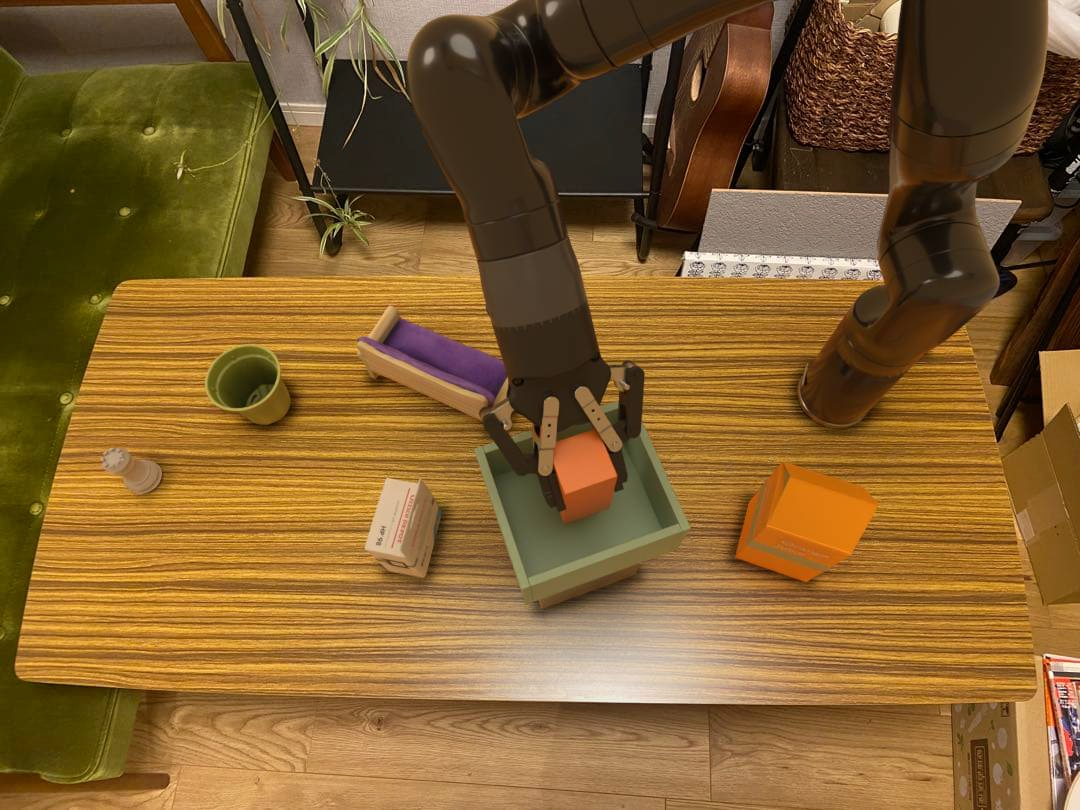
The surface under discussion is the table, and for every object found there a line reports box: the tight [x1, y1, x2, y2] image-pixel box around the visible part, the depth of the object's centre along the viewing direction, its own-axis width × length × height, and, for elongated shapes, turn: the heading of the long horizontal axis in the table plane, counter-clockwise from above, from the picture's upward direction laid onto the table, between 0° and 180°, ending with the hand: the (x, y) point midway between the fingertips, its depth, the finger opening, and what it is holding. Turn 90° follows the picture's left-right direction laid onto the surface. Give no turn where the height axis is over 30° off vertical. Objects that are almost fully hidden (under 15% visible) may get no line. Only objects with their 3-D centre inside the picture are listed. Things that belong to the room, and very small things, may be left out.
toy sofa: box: [356, 305, 508, 421], centre depth 92 cm, size 21×9×10 cm, turn 64°
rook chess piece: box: [100, 447, 163, 495], centre depth 88 cm, size 4×4×8 cm
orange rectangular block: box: [553, 429, 617, 524], centre depth 61 cm, size 4×4×9 cm
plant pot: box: [204, 343, 292, 426], centre depth 92 cm, size 9×9×9 cm
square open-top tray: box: [473, 399, 692, 605], centre depth 67 cm, size 16×14×8 cm
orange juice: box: [734, 461, 880, 583], centre depth 77 cm, size 8×9×20 cm
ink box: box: [364, 477, 443, 578], centre depth 81 cm, size 9×5×15 cm, turn 168°
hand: (588, 496), depth 60 cm, fingers closed on orange rectangular block, 4 cm apart
